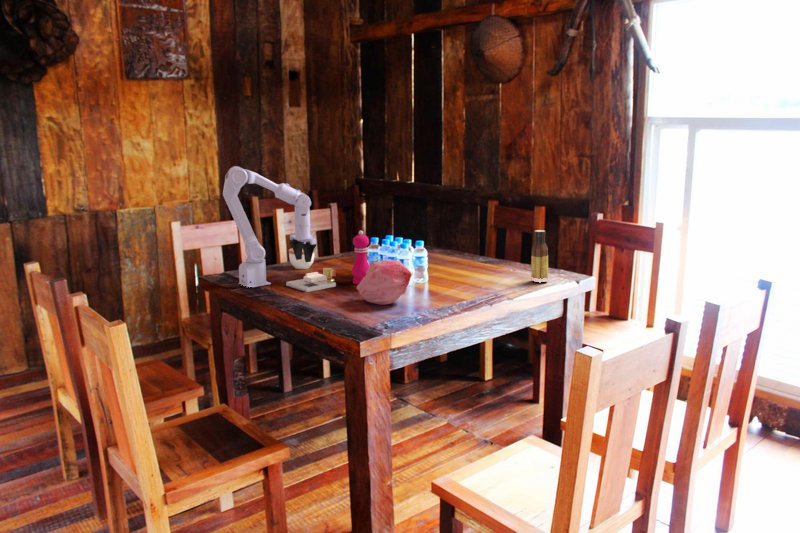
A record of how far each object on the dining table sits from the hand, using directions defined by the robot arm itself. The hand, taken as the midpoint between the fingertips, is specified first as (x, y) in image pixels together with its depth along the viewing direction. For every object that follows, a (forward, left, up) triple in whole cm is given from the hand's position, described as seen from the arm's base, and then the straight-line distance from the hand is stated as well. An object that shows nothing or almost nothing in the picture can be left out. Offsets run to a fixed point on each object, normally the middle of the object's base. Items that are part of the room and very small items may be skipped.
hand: (303, 260), depth 261 cm
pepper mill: (+15, -17, -8) cm, 24 cm away
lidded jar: (+14, +21, -8) cm, 26 cm away
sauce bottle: (+66, -61, -8) cm, 90 cm away
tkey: (+8, -6, -8) cm, 13 cm away
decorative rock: (+2, -45, -8) cm, 46 cm away
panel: (-3, -9, -8) cm, 12 cm away
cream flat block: (0, -8, -6) cm, 10 cm away
